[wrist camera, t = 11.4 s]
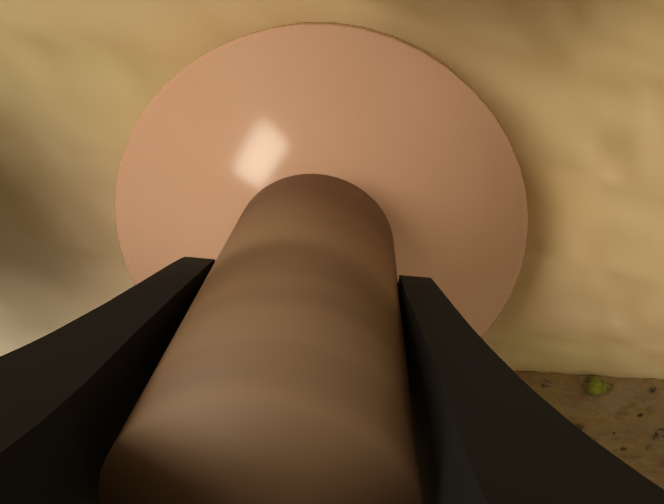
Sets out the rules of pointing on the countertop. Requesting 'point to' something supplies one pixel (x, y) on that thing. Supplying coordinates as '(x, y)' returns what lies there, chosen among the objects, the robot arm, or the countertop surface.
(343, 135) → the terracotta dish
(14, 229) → the countertop surface
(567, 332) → the countertop surface
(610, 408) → the brown flat square slab
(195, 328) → the walnut peg
